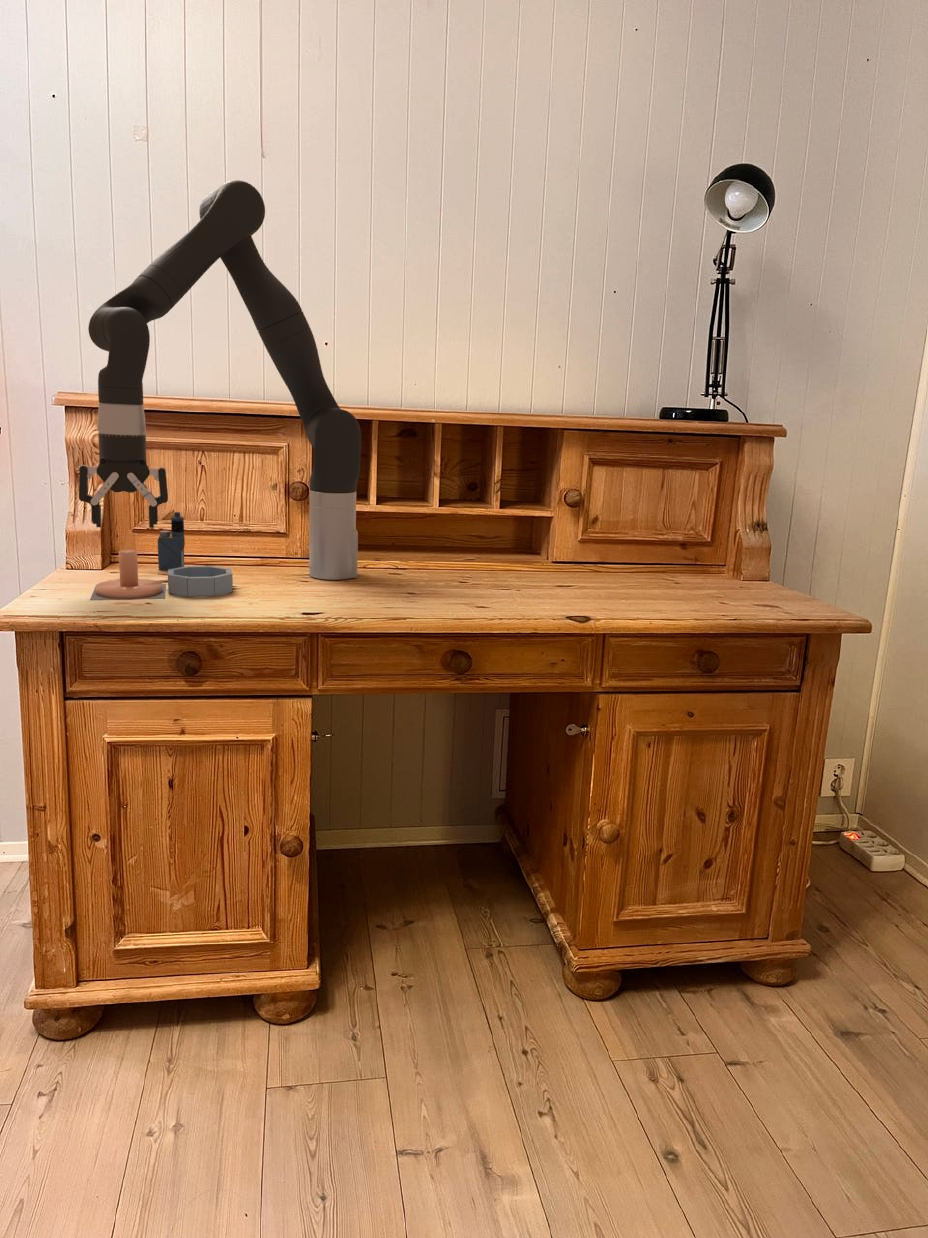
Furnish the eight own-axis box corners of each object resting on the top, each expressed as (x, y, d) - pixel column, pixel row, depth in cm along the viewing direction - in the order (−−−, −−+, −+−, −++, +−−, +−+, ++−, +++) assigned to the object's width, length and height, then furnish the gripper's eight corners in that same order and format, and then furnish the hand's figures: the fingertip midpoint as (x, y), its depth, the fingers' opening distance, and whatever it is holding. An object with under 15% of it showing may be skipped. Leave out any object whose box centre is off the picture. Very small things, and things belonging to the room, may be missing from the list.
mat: (166, 587, 165) (165, 583, 165) (165, 601, 154) (165, 598, 154) (96, 588, 161) (95, 585, 161) (89, 603, 150) (89, 600, 150)
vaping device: (183, 574, 177) (181, 513, 174) (156, 572, 177) (154, 512, 174) (187, 571, 179) (185, 511, 177) (161, 570, 179) (159, 510, 177)
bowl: (230, 586, 168) (230, 565, 167) (233, 599, 158) (233, 577, 157) (168, 587, 165) (168, 566, 164) (168, 601, 154) (167, 578, 154)
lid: (163, 584, 164) (161, 545, 162) (162, 597, 154) (160, 556, 152) (98, 585, 161) (96, 546, 159) (93, 599, 151) (90, 557, 149)
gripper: (167, 432, 157) (169, 524, 160) (78, 428, 152) (83, 523, 156) (166, 434, 150) (168, 531, 153) (73, 430, 145) (78, 529, 149)
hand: (125, 527), depth 155 cm, fingers open, 8 cm apart
